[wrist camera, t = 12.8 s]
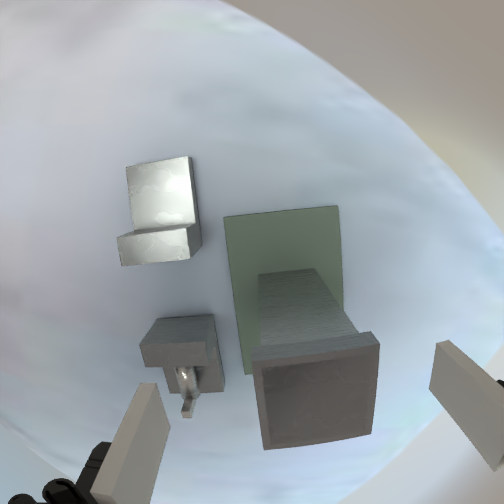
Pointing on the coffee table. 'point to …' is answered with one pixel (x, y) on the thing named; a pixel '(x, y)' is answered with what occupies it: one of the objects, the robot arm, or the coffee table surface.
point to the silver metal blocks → (170, 249)
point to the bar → (310, 364)
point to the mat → (279, 258)
